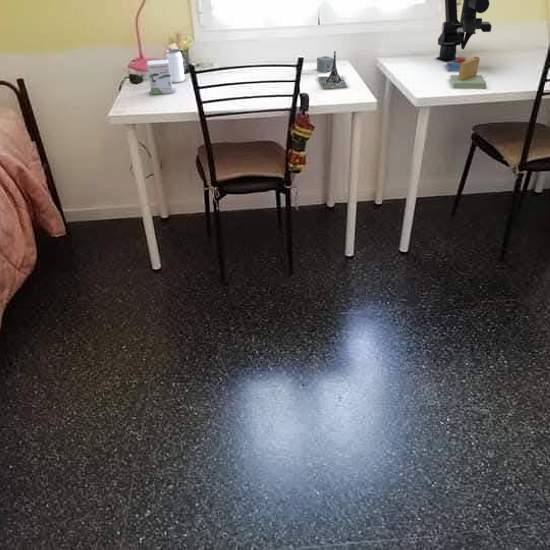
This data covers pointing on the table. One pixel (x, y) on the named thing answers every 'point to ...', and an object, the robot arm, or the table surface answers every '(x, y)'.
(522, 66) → the table surface
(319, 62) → the dice cube
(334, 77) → the eiffel tower figurine
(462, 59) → the red button
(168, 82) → the ink box
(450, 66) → the button box
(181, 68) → the can
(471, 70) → the brass bar
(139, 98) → the table surface
